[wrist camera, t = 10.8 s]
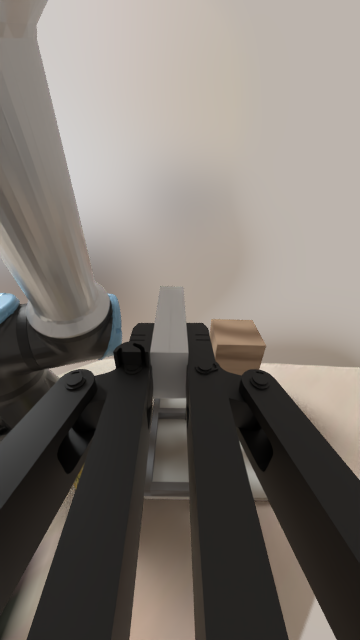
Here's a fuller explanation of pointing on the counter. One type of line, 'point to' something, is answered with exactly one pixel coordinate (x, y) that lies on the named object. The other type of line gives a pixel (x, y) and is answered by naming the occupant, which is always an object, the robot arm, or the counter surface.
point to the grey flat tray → (176, 455)
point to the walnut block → (236, 345)
